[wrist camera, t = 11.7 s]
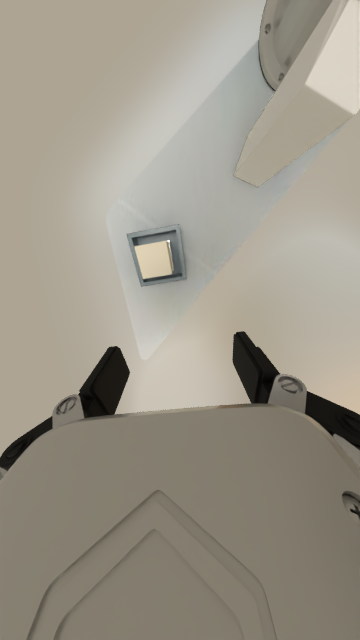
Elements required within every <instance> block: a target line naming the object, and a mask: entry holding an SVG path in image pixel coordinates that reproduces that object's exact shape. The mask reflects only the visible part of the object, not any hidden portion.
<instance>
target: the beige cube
mask: <svg viewBox="0 0 360 640" xmlns="http://www.w3.org/2000/svg"><path fill="white" fill-rule="evenodd" d="M134 248H135V251H136V255H137V259H138V262H139V266H140V270H141V273H142V277H143V279H146V278H152V277H158V276H164V275H170V274H172V272H173V266H172V260H171V255H170V249H169V243H168V241H161V242H156V243H150V244H145V245H139V246H134Z"/></svg>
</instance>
